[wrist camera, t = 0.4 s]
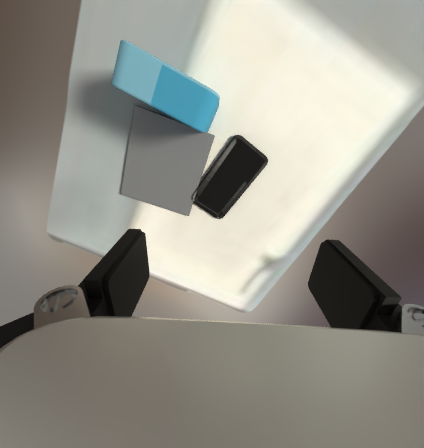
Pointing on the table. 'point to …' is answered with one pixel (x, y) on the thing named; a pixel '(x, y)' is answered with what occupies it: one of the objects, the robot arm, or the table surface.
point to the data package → (164, 87)
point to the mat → (164, 161)
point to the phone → (229, 177)
